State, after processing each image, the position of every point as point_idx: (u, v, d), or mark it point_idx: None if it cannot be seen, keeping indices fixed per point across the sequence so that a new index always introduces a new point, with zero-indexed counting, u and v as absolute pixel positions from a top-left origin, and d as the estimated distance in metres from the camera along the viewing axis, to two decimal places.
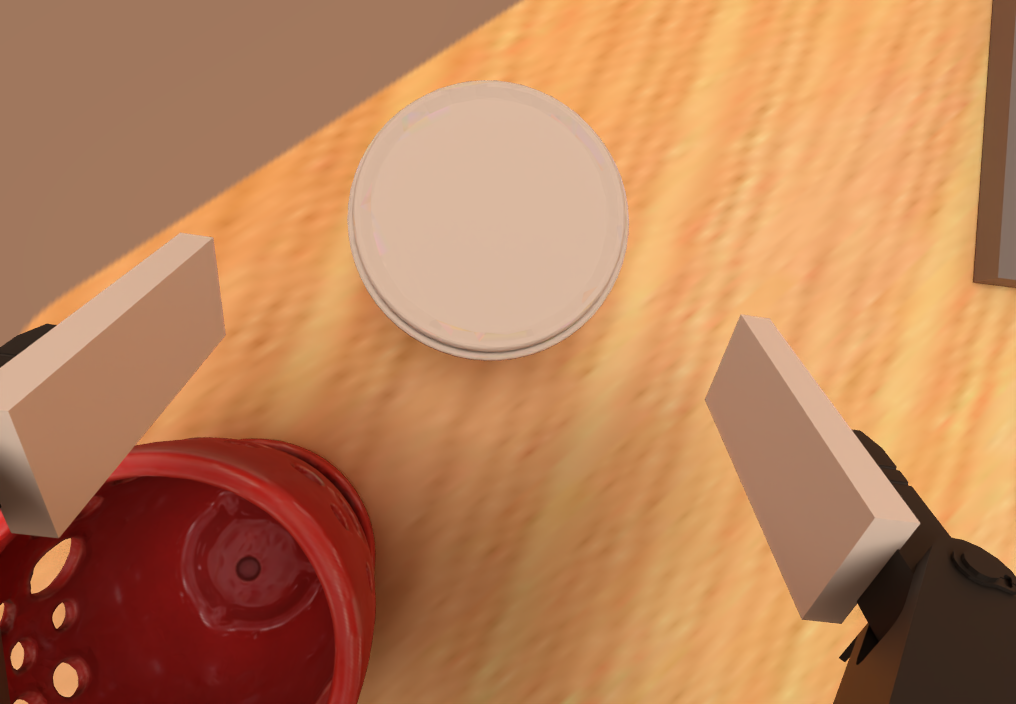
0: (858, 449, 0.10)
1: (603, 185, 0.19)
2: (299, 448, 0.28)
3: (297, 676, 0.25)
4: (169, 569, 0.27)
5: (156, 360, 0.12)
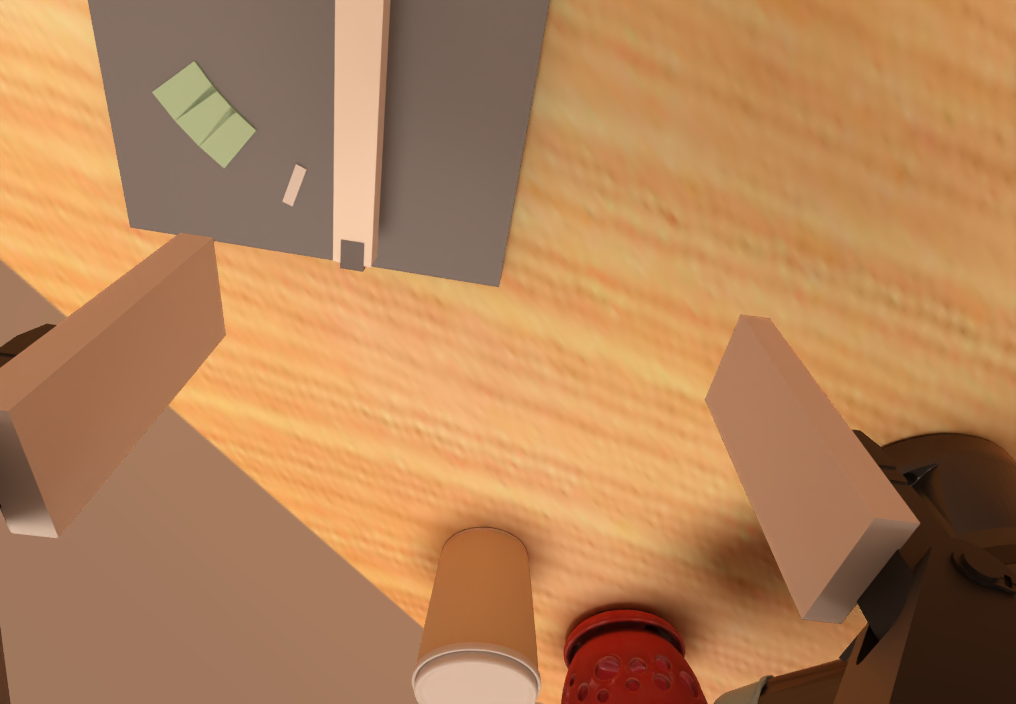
0: (858, 449, 0.10)
1: (462, 664, 0.40)
2: (571, 637, 0.55)
3: None
4: None
5: (156, 360, 0.12)
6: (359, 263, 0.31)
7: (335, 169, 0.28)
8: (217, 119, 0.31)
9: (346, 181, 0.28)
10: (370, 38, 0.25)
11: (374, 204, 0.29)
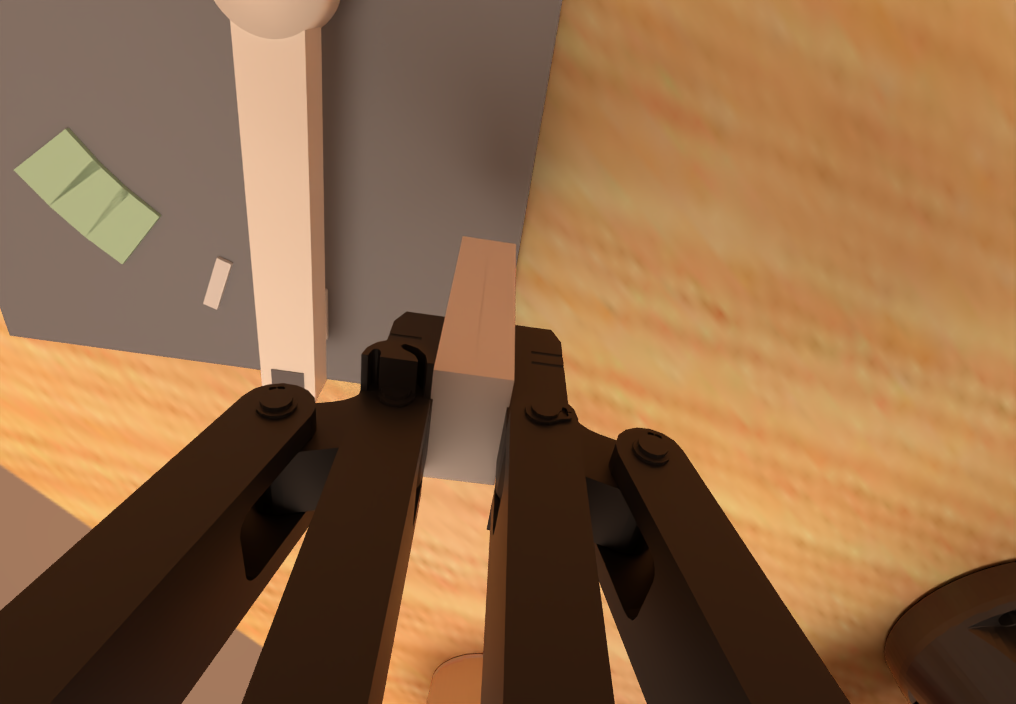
0: (507, 332, 0.12)
1: None
2: None
3: None
4: None
5: None
6: None
7: (255, 282, 0.20)
8: (107, 202, 0.23)
9: (272, 297, 0.20)
10: (290, 106, 0.17)
11: (314, 324, 0.21)
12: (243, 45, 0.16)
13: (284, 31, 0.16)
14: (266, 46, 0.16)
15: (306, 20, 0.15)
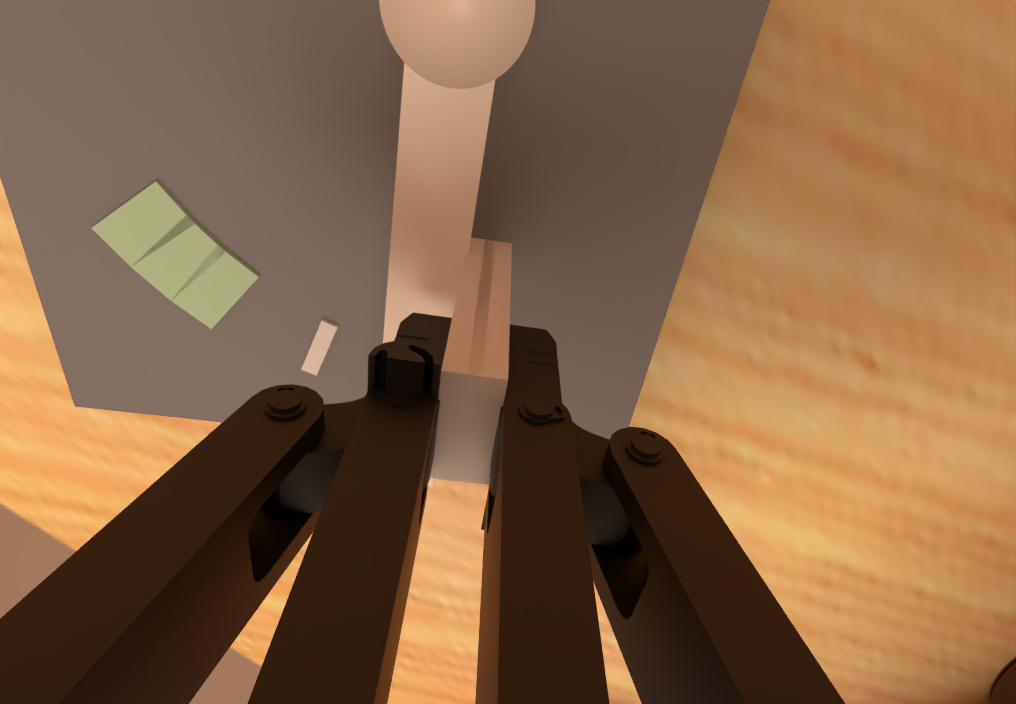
0: (502, 332, 0.12)
1: None
2: None
3: None
4: None
5: None
6: None
7: None
8: (198, 261, 0.20)
9: None
10: (461, 166, 0.14)
11: None
12: (416, 94, 0.13)
13: (470, 79, 0.13)
14: (443, 96, 0.13)
15: (502, 68, 0.13)
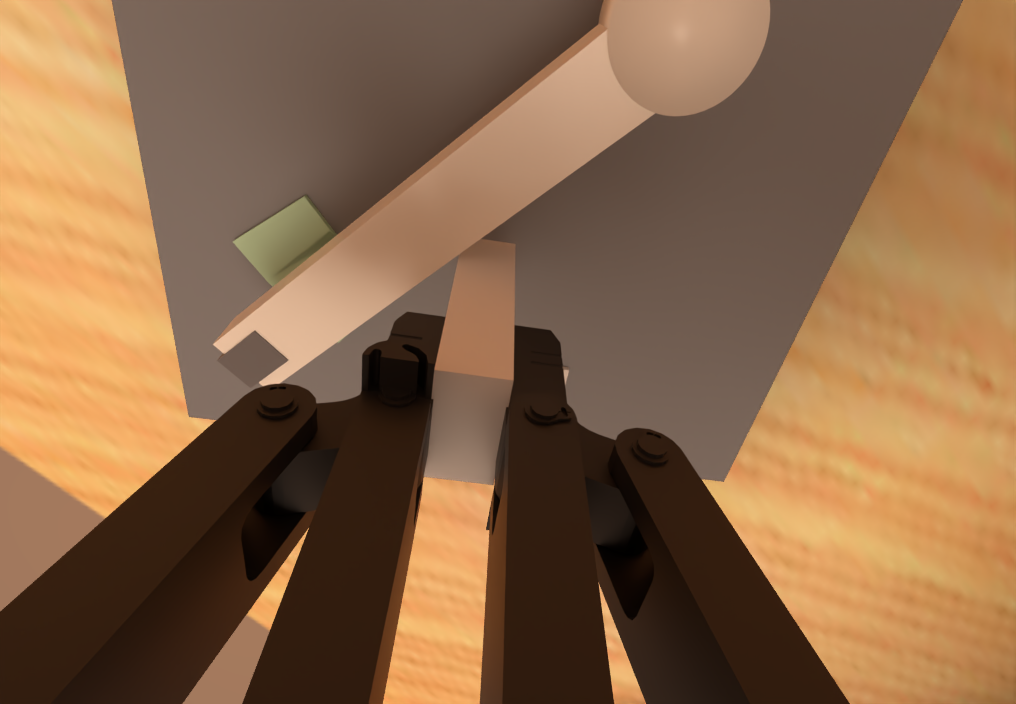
0: (507, 332, 0.12)
1: None
2: None
3: None
4: None
5: None
6: (255, 376, 0.17)
7: (337, 249, 0.15)
8: None
9: (339, 275, 0.15)
10: (566, 151, 0.13)
11: (352, 328, 0.16)
12: (590, 63, 0.12)
13: (639, 94, 0.13)
14: (608, 87, 0.12)
15: (671, 111, 0.13)
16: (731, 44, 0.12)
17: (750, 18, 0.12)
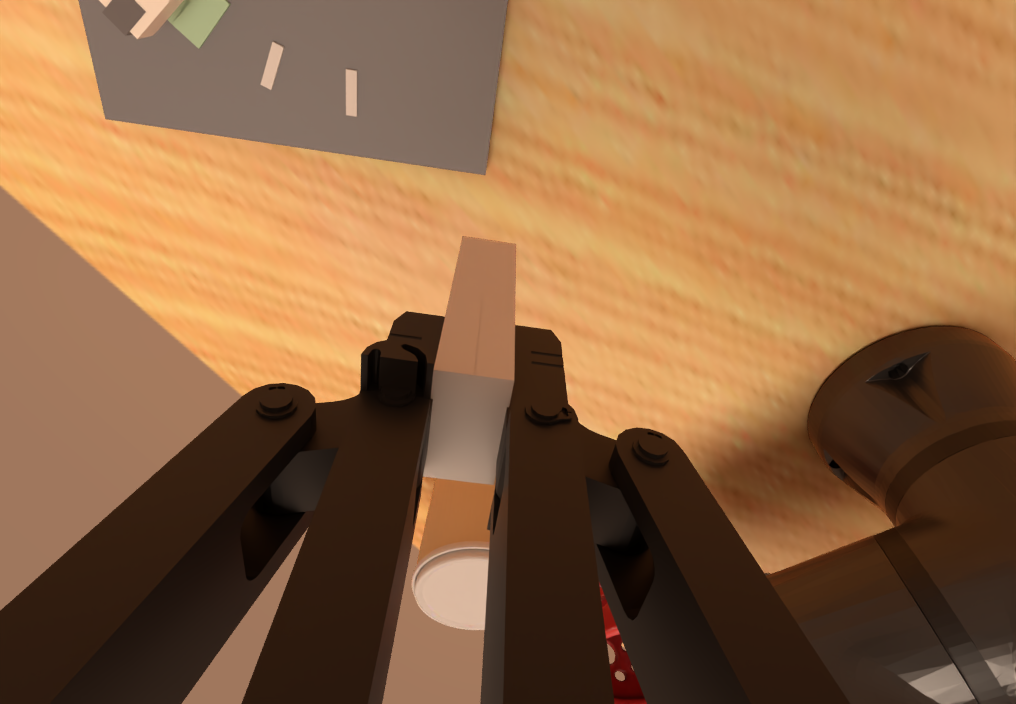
0: (507, 332, 0.12)
1: (460, 562, 0.40)
2: None
3: None
4: None
5: None
6: (127, 26, 0.27)
7: None
8: None
9: None
10: None
11: None
12: None
13: None
14: None
15: None
16: None
17: None
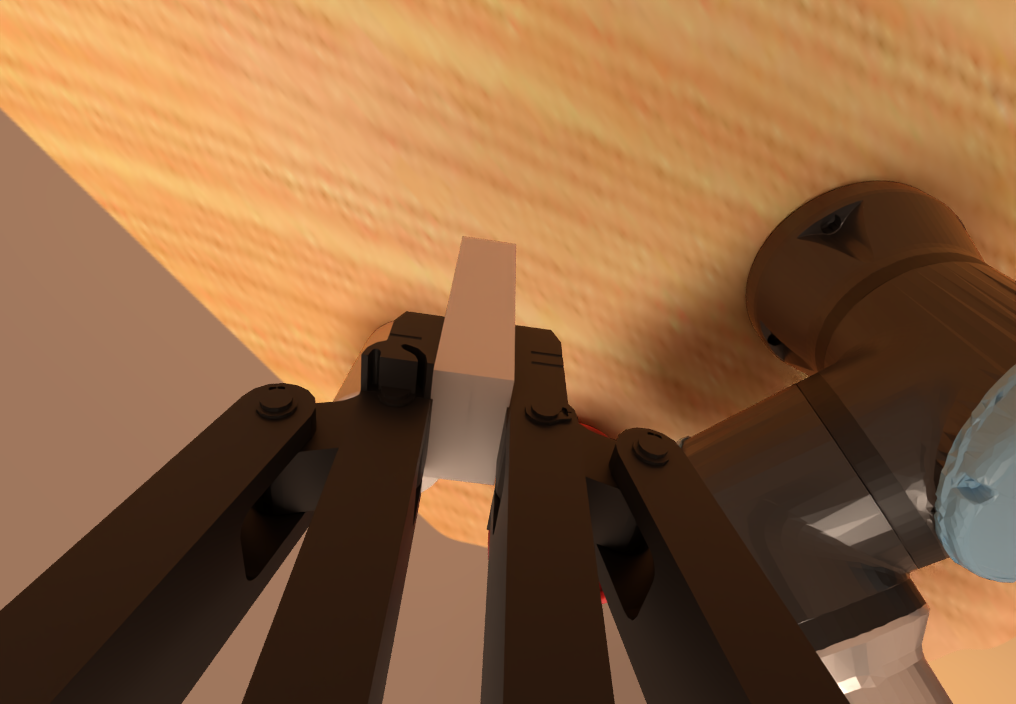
0: (507, 332, 0.12)
1: None
2: None
3: None
4: None
5: None
6: None
7: None
8: None
9: None
10: None
11: None
12: None
13: None
14: None
15: None
16: None
17: None
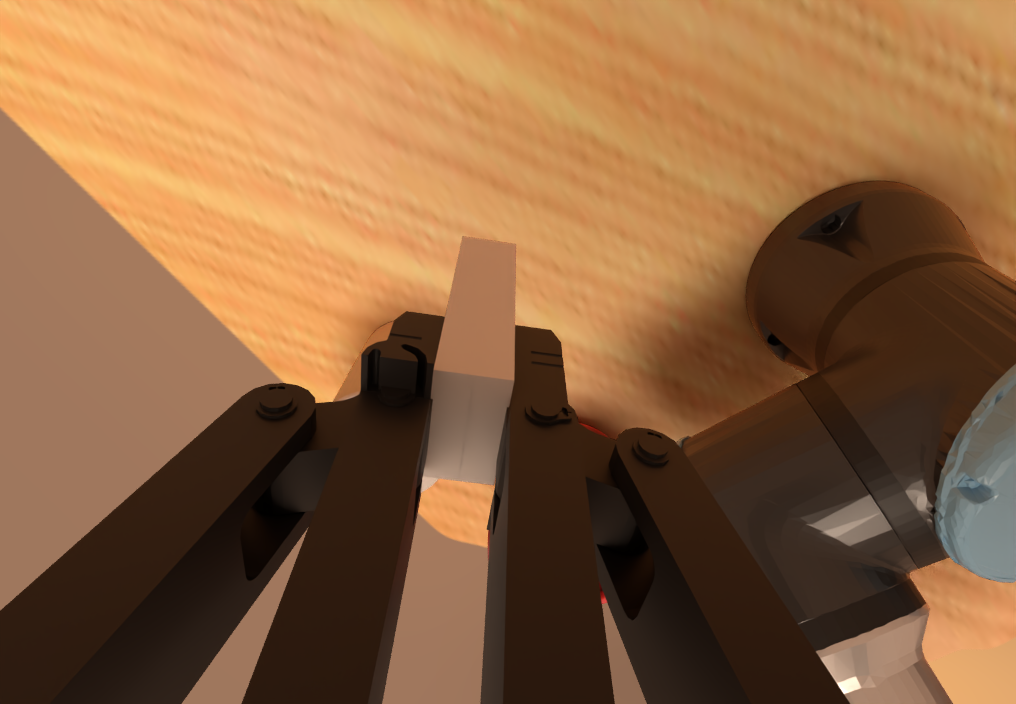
0: (507, 332, 0.12)
1: None
2: None
3: None
4: None
5: None
6: None
7: None
8: None
9: None
10: None
11: None
12: None
13: None
14: None
15: None
16: None
17: None
